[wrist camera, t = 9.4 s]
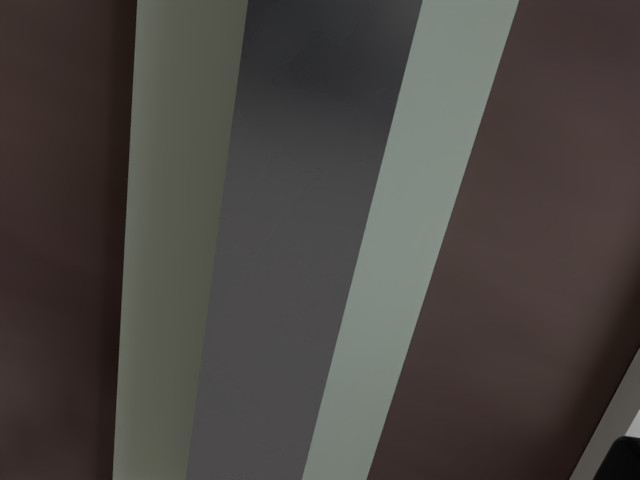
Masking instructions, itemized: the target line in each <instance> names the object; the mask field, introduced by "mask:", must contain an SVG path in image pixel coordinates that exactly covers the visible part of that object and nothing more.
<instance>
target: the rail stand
mask: <svg viewBox="0 0 640 480" xmlns="http://www.w3.org/2000/svg"><path fill="white" fill-rule="evenodd" d="M621 436H630V437H637V438H640V348H639V350H638V351H637V353H636V355H635V357H634V359H633V361H632V363H631V365H630V366H629V368H628V370H627V372H626V374H625V376H624V378H623V380H622V381H621V383H620V385H619V387H618V389H617V391H616V393H615V395H614V397H613V398H612V400H611V402H610V404H609V406H608V408H607V410H606V412H605V413H604V415H603V417H602V419H601V421H600V423H599V425H598V427H597V428H596V430H595V432H594V434H593V436H592V438H591V440H590V442H589V444H588V445H587V447H586V449H585V451H584V453H583V455H582V457H581V459H580V460H579V462H578V464H577V466H576V468H575V470H574V472H573V474H572V475H571V477H570V479H569V480H593V477H594V476H595V474H596V472H597V470H598V468H599V467H600V465H601V463H602V461H603V459H604V458H605V456H606V454H607V452H608V450H609V449H610V447H611V445H612V443H613V442H614V441H615V440H616V439H617V438H619V437H621Z"/></svg>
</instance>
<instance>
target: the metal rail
mask: <svg viewBox="0 0 640 480" xmlns="http://www.w3.org/2000/svg"><path fill="white" fill-rule="evenodd" d="M422 2H423V0H248V5H247V12H246V20H245V28H244V35H243V43H242V51H241V58H240V66H239V74H238V81H237V89H236V97H235V104H234V112H233V120H232V128H231V135H230V143H229V151H228V158H227V166H226V174H225V181H224V189H223V197H222V204H221V212H220V220H219V227H218V235H217V243H216V250H215V258H214V266H213V273H212V281H211V289H210V297H209V304H208V312H207V320H206V327H205V335H204V343H203V350H202V358H201V366H200V373H199V381H198V389H197V396H196V404H195V412H194V419H193V427H192V435H191V443H190V450H189V458H188V466H187V473H186V480H302V477H303V473H304V469H305V465H306V461H307V457H308V453H309V450H310V446H311V442H312V438H313V434H314V430H315V426H316V422H317V418H318V414H319V410H320V406H321V402H322V398H323V394H324V390H325V386H326V382H327V378H328V374H329V370H330V366H331V362H332V358H333V354H334V350H335V346H336V343H337V339H338V335H339V331H340V327H341V323H342V319H343V315H344V311H345V307H346V303H347V299H348V295H349V291H350V287H351V283H352V279H353V275H354V271H355V267H356V263H357V259H358V255H359V251H360V247H361V243H362V239H363V236H364V232H365V228H366V224H367V220H368V216H369V212H370V208H371V204H372V200H373V196H374V192H375V188H376V184H377V180H378V176H379V172H380V168H381V164H382V160H383V156H384V152H385V148H386V144H387V140H388V136H389V132H390V129H391V125H392V121H393V117H394V113H395V109H396V105H397V101H398V97H399V93H400V89H401V85H402V81H403V77H404V73H405V69H406V65H407V61H408V57H409V53H410V49H411V45H412V41H413V37H414V33H415V29H416V25H417V22H418V18H419V14H420V10H421V6H422Z"/></svg>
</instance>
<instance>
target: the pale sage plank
mask: <svg viewBox="0 0 640 480" xmlns="http://www.w3.org/2000/svg"><path fill="white" fill-rule="evenodd" d="M518 2H519V0H423V2H422V6H421V10H420V14H419V18H418V22H417V25H416V29H415V33H414V37H413V41H412V45H411V49H410V53H409V57H408V61H407V65H406V69H405V73H404V77H403V81H402V85H401V89H400V93H399V97H398V101H397V105H396V109H395V113H394V117H393V121H392V125H391V129H390V132H389V136H388V140H387V144H386V148H385V152H384V156H383V160H382V164H381V168H380V172H379V176H378V180H377V184H376V188H375V192H374V196H373V200H372V204H371V208H370V212H369V216H368V220H367V224H366V228H365V232H364V236H363V239H362V243H361V247H360V251H359V255H358V259H357V263H356V267H355V271H354V275H353V279H352V283H351V287H350V291H349V295H348V299H347V303H346V307H345V311H344V315H343V319H342V323H341V327H340V331H339V335H338V339H337V343H336V346H335V350H334V354H333V358H332V362H331V366H330V370H329V374H328V378H327V382H326V386H325V390H324V394H323V398H322V402H321V406H320V410H319V414H318V418H317V422H316V426H315V430H314V434H313V438H312V442H311V446H310V450H309V453H308V457H307V461H306V465H305V469H304V473H303V477H302V480H366V479H367V476H368V473H369V470H370V467H371V464H372V460H373V457H374V454H375V451H376V448H377V445H378V442H379V438H380V435H381V432H382V429H383V426H384V423H385V420H386V417H387V413H388V410H389V407H390V404H391V401H392V398H393V395H394V391H395V388H396V385H397V382H398V379H399V376H400V373H401V369H402V366H403V363H404V360H405V357H406V354H407V351H408V347H409V344H410V341H411V338H412V335H413V332H414V329H415V325H416V322H417V319H418V316H419V313H420V310H421V307H422V304H423V300H424V297H425V294H426V291H427V288H428V285H429V282H430V278H431V275H432V272H433V269H434V266H435V263H436V260H437V256H438V253H439V250H440V247H441V244H442V241H443V238H444V234H445V231H446V228H447V225H448V222H449V219H450V216H451V212H452V209H453V206H454V203H455V200H456V197H457V194H458V191H459V187H460V184H461V181H462V178H463V175H464V172H465V169H466V165H467V162H468V159H469V156H470V153H471V150H472V147H473V143H474V140H475V137H476V134H477V131H478V128H479V125H480V121H481V118H482V115H483V112H484V109H485V106H486V103H487V99H488V96H489V93H490V90H491V87H492V84H493V81H494V78H495V74H496V71H497V68H498V65H499V62H500V59H501V56H502V52H503V49H504V46H505V43H506V40H507V37H508V34H509V30H510V27H511V24H512V21H513V18H514V15H515V12H516V8H517V5H518ZM247 5H248V0H137V17H136V37H135V56H134V75H133V95H132V114H131V133H130V153H129V172H128V191H127V211H126V230H125V249H124V269H123V288H122V307H121V326H120V346H119V365H118V384H117V404H116V423H115V442H114V462H113V480H186V473H187V466H188V458H189V450H190V443H191V435H192V427H193V419H194V412H195V404H196V396H197V389H198V381H199V373H200V366H201V358H202V350H203V343H204V335H205V327H206V320H207V312H208V304H209V297H210V289H211V281H212V273H213V266H214V258H215V250H216V243H217V235H218V227H219V220H220V212H221V204H222V197H223V189H224V181H225V174H226V166H227V158H228V151H229V143H230V135H231V128H232V120H233V112H234V104H235V97H236V89H237V81H238V74H239V66H240V58H241V51H242V43H243V35H244V28H245V20H246V12H247Z"/></svg>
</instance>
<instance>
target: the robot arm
mask: <svg viewBox="0 0 640 480" xmlns="http://www.w3.org/2000/svg"><path fill="white" fill-rule="evenodd" d="M593 480H640V438H637V437H630V436H621V437H619V438H617V439H616V440H615V441H614V442H613V443H612V445H611V447H610V449H609V450H608V452H607V454H606V456H605V458H604V459H603V461H602V463H601V465H600V467H599V468H598V470H597V472H596V474H595V476H594V477H593Z"/></svg>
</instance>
